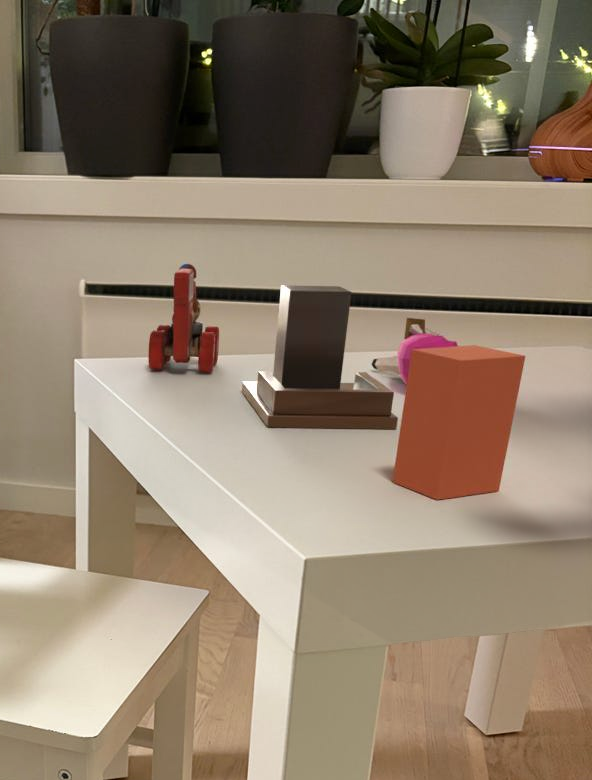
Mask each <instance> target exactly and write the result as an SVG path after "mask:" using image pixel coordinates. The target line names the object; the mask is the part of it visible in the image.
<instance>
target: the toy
mask: <svg viewBox="0 0 592 780" xmlns="http://www.w3.org/2000/svg"><path fill="white" fill-rule="evenodd" d="M455 346H459V345H458V342H457V341H456V340H455V341H454V340H448V339H447V338H446V337H445V336H444V335H440V333H438V332H437V331H433V330H431V329H429V328H427V327H426V319H425V318H424V319H423V318H414V317H413V318H412V317H406V322H405V330H404V338H403V341H401V342H400V345H399V347H398V351H397V354H396V355H395V356H390V357H389V356H388V357H379V358H378V357H377V358H373V360H372V362H371V363H370V365H371V366H372V368H373V369H374V370H377V371H380V372H387V373H392V374H395V375H400V377H401V379H402V382H403V383H404V384H405V385H406V386H407V380H408V373H409V366H410V360H411V353H412V350H413V349H425V348H440V347H455Z"/></svg>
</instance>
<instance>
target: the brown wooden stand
mask: <svg viewBox="0 0 592 780" xmlns="http://www.w3.org/2000/svg"><path fill="white" fill-rule="evenodd" d="M279 293H280V295H279V305H278V306H279V307H278V315H277V316H278V317H277V325H276V326H277V328H276V340H275V351H274V360H273V361H274V362H273V370H272V371H273V372H271V371H269V370H258V372H257V381H247V380H246V381H244V380H243V381H242V382H241V392H242V394H243V396H244V397H245V398H246V400H247V401H248V402H249V403H250V405H251V406H252V408H253V409H254V410H255V412H256V413H257V415H258V416H259V418H260V419H261V420H262V422H263V423H264V425H265V426H266V427H267V428H281V429H282V428H283V429H285V428H286V429H288V428H289V429H297V428H298V429H351V430H352V429H355V430H356V429H360V430H397V429H398V428H397V427H398V421H399V417H398V416H396V415H395V414H394V413H393V412H392V410H393V402H394V395H395V392H394V391H393V390H392V389H390V388H388V387H387V385H386V386H385V384H383V383H382V382H380V381H379V380H378V379H376V378H375V377H374V376H372V375H371V374H369V373H368V372H364V371H363V372H360V371H359V372H358V371H357V372H355V376H354V382H342V375H343V365H344V358H345V350H346V341H347V332H348V323H349V315H350V308H351V301H352V300H351V299H352V291H350V290H348V289H346V288H344V287H343V286H342V287H341V286H340V285H339V286H335V285H328V286H327V285H290V284H289V285H288V284H287V285H285V284H281V286H280V292H279Z"/></svg>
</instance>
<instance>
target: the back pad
mask: <svg viewBox="0 0 592 780" xmlns="http://www.w3.org/2000/svg"><path fill="white" fill-rule="evenodd" d="M525 360H526V355H524V354H519V353H513V352H509V351H505V350H499V349H496V348H490V347H485V346H480V345H475V344H471V345H458V346H455V347H440V348H425V349H413V350H412V353H411V360H410V366H409V373H408V380H407V385H406V387H405V394H404V399H403V408H402V414H401V419H400V421H401V422H400V428H399V434H398V441H397V447H396V448H397V449H396V456H395V462H394V468H393V474H392V475H393V476H392V480H391V481H392V483H394V484H395V485H399V486H401V487H404V488H407V489H409V490H411V491H414V492H416V493H419V494H421V495H424V496H426V497H429V498H431V499H433V500H436V501H438V500H439V501H440V500H445V499H453V498H460V497H467V496H473V495H474V496H475V495H479V494H481V495H482V494H487V493H493V492H494V493H495V492H499V491H500V487H501V482H502V476H503V472H504V467H505V462H506V457H507V452H508V447H509V442H510V436H511V432H512V426H513V421H514V416H515V411H516V407H517V401H518V396H519V392H520V386H521V382H522V381H521V380H522V376H523V372H524V371H523V370H524V366H525Z"/></svg>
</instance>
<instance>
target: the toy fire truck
mask: <svg viewBox="0 0 592 780" xmlns="http://www.w3.org/2000/svg"><path fill="white" fill-rule="evenodd" d="M173 275H174V276H173V307H172V308H173V314H172V317H171V322H172V323H171V324H170V325H169V324H159V325H157V328H156V330H152V331H151V332H150V334H149V340H148V353H147V354H148V357H147V359H148V367H149V369H150V370H151V371H163V370H164V368H165V365H166V363H169V362H170V361H171V358H172V359H173V360H174V363H176V364H181V363H182V364H185V363H189V362H190V359H191V357H193V358H198V359H197V369H198V372H200V373H212V372H213V371H214V366H215V365H217V364H218V358H219V347H220V327H219V326H215V325H214V326H213V325H207V326H205V329H204V327H203V326H204V325H203V322H200V321H197V320H198V319H199V317H200V315H201V310H202V309H201V304H200V302H199V300H198V299H197V282H196V281H195V279H197V269H196V268H195V266H194V265H193V264H191V263H184V264H182V265H181V266H180V267H179V269H177V271H175V272H174V273H173ZM203 329H204V331H203Z"/></svg>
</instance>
